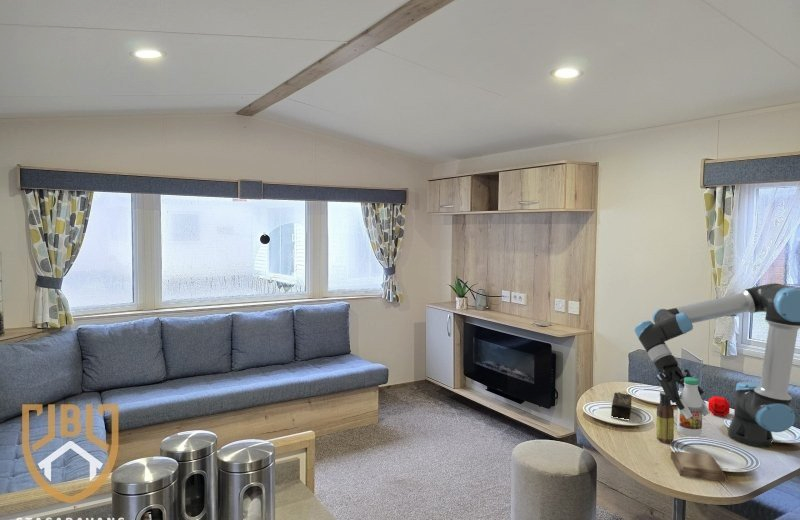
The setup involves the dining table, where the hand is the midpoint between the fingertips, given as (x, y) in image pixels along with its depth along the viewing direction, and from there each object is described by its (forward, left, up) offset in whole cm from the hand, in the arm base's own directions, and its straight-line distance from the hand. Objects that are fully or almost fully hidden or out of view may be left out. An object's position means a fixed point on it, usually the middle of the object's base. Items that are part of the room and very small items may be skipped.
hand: (698, 415), depth 181 cm
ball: (-25, -60, -21) cm, 68 cm away
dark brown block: (+17, -51, -21) cm, 58 cm away
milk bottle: (+2, -3, -8) cm, 8 cm away
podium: (-1, -2, -20) cm, 20 cm away
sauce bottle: (+5, -24, -21) cm, 32 cm away
